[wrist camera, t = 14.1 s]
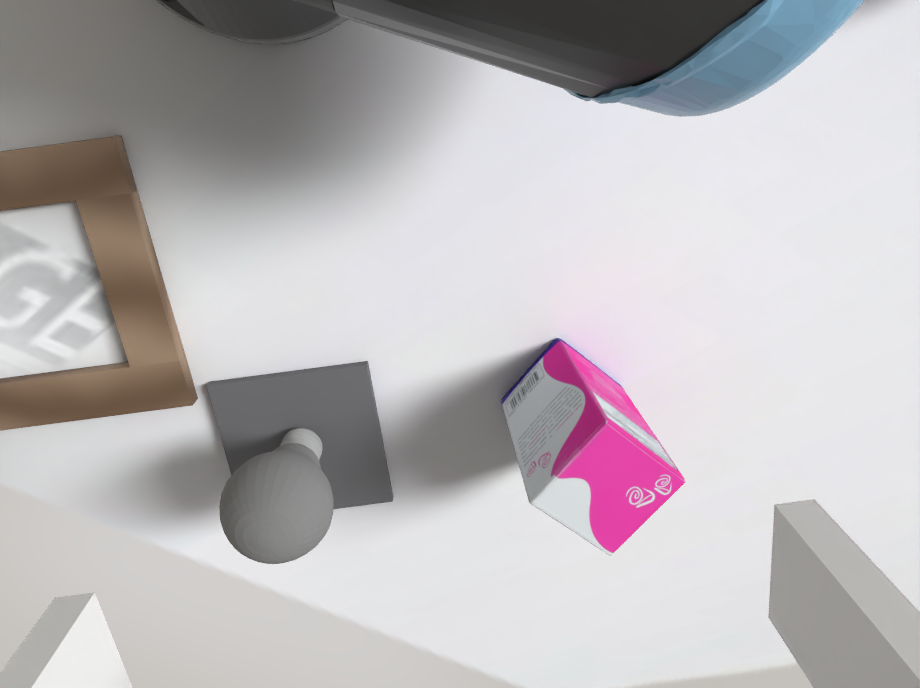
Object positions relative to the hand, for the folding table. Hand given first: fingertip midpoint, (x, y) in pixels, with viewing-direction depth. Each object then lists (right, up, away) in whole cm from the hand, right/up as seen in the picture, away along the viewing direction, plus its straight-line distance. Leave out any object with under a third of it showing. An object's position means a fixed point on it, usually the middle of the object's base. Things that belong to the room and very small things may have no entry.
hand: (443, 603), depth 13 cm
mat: (-10, -1, +31) cm, 32 cm away
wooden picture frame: (-25, +8, +27) cm, 37 cm away
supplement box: (+7, +2, +31) cm, 31 cm away
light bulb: (-10, -1, +30) cm, 32 cm away
